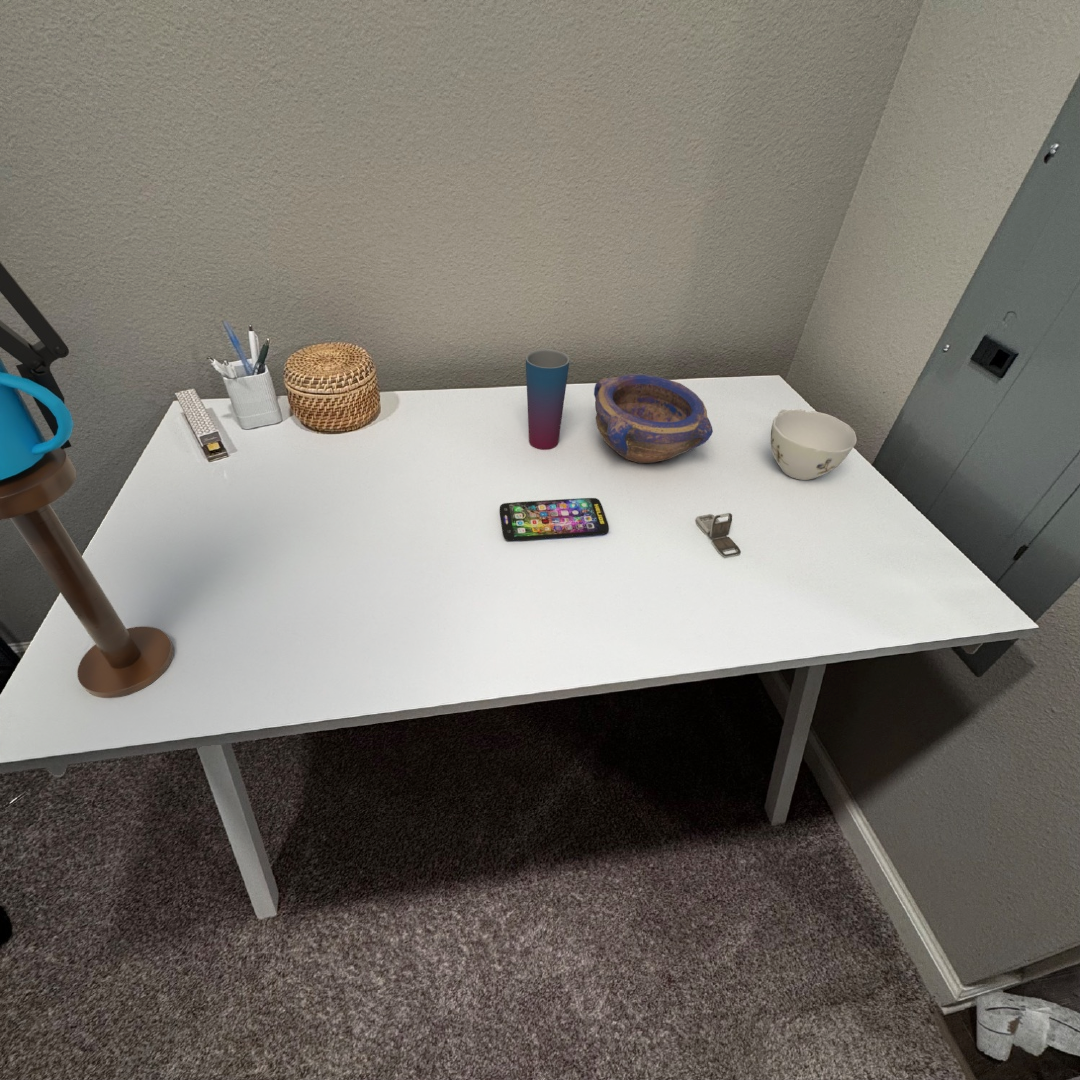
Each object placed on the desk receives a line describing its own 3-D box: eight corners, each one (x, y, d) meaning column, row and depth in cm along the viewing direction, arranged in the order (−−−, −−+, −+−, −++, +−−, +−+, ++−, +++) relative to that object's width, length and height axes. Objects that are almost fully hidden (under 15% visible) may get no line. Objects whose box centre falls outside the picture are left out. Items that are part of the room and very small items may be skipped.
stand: (93, 713, 64) (-59, 517, 47) (72, 658, 69) (-72, 463, 52) (185, 668, 68) (77, 474, 51) (159, 619, 73) (53, 428, 56)
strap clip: (693, 520, 91) (699, 497, 88) (711, 517, 92) (717, 494, 89) (722, 559, 85) (730, 535, 82) (742, 555, 86) (750, 531, 83)
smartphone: (498, 502, 91) (599, 496, 93) (498, 507, 91) (598, 501, 93) (503, 537, 85) (611, 530, 87) (503, 543, 86) (610, 536, 87)
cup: (515, 439, 106) (516, 356, 96) (544, 426, 109) (548, 344, 99) (542, 457, 102) (546, 372, 92) (571, 443, 105) (578, 359, 96)
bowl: (709, 479, 99) (724, 424, 92) (597, 479, 98) (604, 424, 91) (684, 421, 112) (695, 369, 106) (585, 420, 111) (590, 368, 105)
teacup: (855, 488, 99) (875, 445, 93) (786, 498, 96) (802, 454, 91) (802, 438, 109) (817, 397, 104) (738, 445, 107) (750, 404, 101)
